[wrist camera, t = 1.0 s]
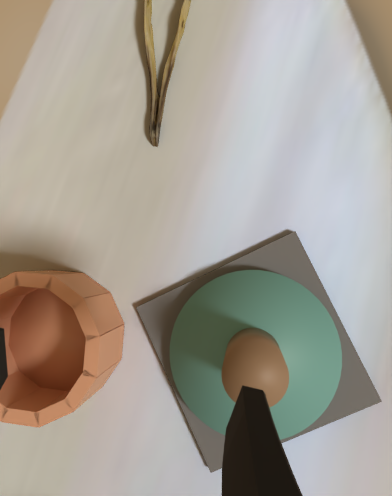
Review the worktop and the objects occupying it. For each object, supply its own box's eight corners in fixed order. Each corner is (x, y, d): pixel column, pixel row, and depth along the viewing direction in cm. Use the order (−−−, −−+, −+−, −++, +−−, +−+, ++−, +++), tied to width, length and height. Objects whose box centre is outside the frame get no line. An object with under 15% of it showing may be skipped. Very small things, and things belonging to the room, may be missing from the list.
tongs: (140, 151, 25) (130, 140, 23) (146, -28, 26) (138, -53, 24) (201, 149, 24) (197, 137, 22) (204, -33, 25) (201, -60, 23)
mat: (379, 398, 22) (381, 401, 21) (211, 469, 23) (210, 472, 22) (294, 231, 23) (295, 231, 22) (138, 306, 24) (136, 307, 23)
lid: (369, 396, 21) (404, 434, 16) (214, 461, 22) (206, 515, 18) (291, 242, 22) (303, 236, 17) (146, 311, 23) (120, 323, 18)
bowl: (144, 367, 23) (123, 389, 20) (33, 418, 24) (-8, 448, 20) (91, 250, 24) (61, 247, 20) (-14, 303, 25) (-63, 311, 21)
